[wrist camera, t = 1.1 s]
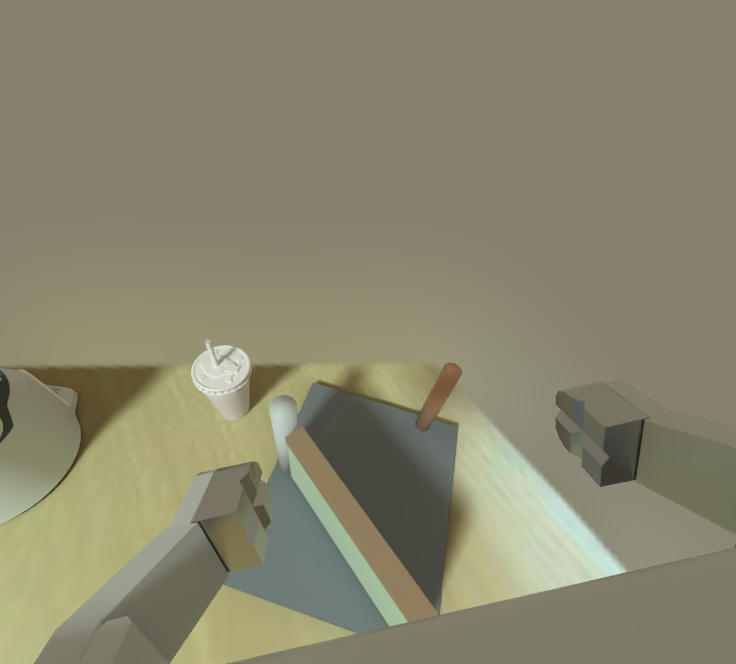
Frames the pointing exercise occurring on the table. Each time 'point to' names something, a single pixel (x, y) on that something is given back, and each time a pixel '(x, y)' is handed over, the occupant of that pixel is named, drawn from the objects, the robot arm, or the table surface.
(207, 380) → the smoothie
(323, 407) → the board
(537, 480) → the table surface
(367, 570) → the panel
